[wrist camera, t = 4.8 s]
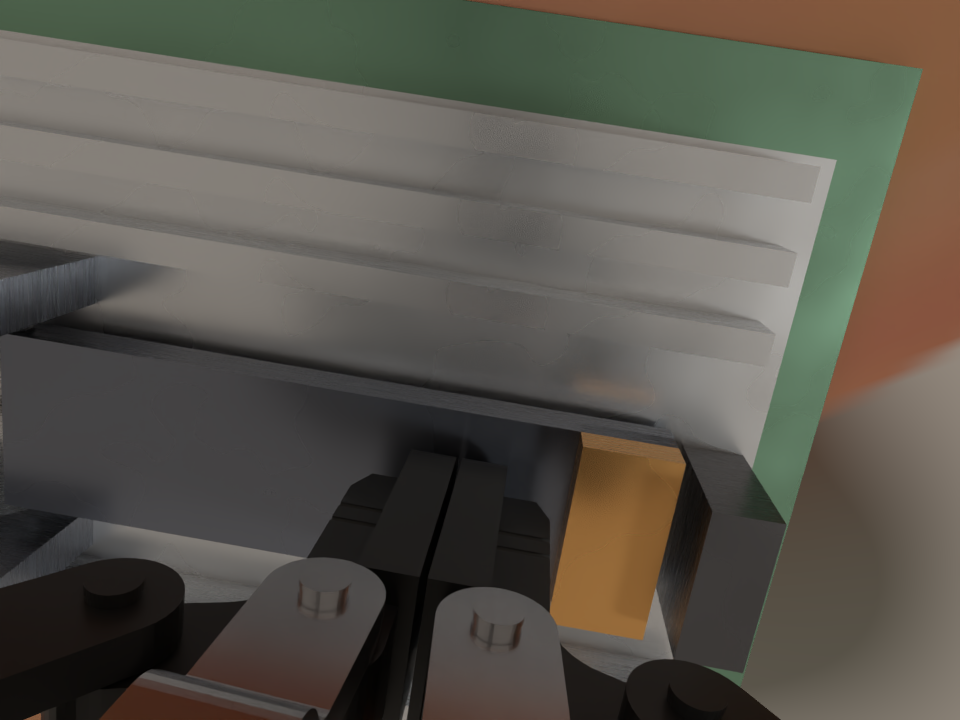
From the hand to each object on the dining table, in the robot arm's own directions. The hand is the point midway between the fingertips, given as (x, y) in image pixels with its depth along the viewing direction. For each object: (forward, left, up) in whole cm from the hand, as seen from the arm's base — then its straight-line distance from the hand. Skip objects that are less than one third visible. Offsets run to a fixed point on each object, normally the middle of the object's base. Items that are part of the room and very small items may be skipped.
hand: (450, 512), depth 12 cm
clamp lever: (0, -2, -1) cm, 3 cm away
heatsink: (0, -2, -6) cm, 6 cm away
